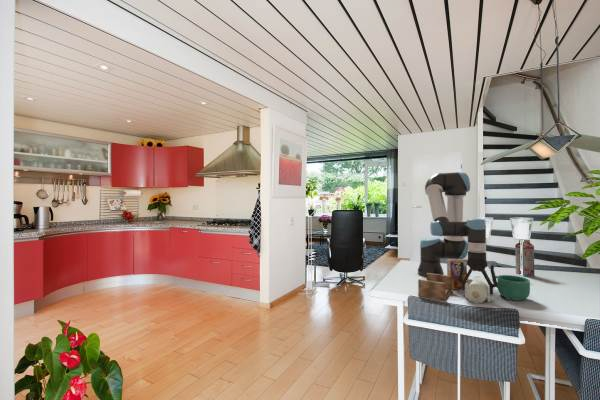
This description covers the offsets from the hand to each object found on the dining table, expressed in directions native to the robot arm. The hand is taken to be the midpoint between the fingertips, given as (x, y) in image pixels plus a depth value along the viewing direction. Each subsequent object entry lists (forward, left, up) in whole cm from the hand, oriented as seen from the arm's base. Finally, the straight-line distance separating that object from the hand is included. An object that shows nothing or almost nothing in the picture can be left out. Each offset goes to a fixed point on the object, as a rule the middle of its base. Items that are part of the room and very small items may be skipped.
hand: (477, 299), depth 138 cm
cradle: (+2, -18, 0) cm, 18 cm away
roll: (0, 0, 0) cm, 0 cm away
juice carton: (-71, +18, 0) cm, 73 cm away
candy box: (-15, -11, 0) cm, 19 cm away
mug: (-14, +12, 0) cm, 19 cm away
